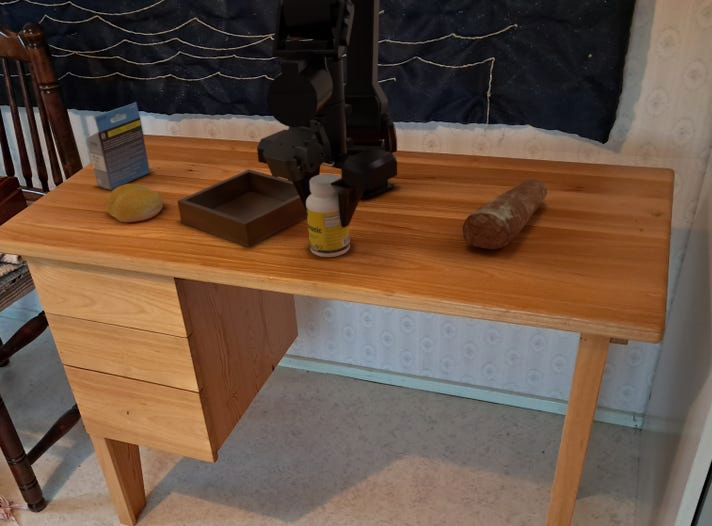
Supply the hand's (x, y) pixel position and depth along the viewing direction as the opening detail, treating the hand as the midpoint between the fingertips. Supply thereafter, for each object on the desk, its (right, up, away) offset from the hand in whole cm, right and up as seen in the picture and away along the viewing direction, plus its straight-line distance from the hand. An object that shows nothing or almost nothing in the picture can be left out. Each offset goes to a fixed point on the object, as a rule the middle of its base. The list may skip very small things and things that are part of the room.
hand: (328, 221), depth 97 cm
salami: (+24, 0, +4) cm, 25 cm away
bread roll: (-29, +5, +18) cm, 35 cm away
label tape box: (-34, +12, +30) cm, 47 cm away
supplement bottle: (0, -3, +2) cm, 4 cm away
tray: (-11, +3, +13) cm, 17 cm away
